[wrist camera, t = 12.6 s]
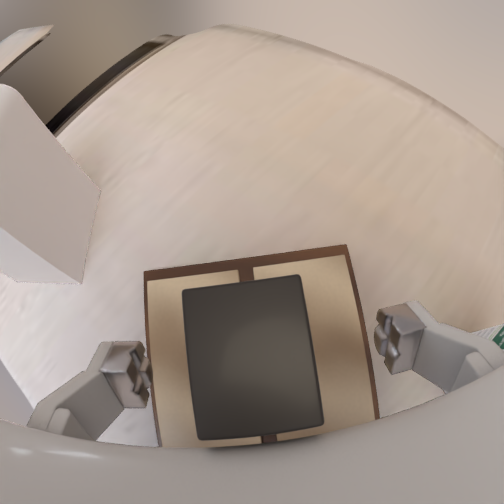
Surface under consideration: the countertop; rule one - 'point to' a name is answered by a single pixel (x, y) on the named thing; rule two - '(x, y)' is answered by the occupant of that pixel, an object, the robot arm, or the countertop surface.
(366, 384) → the brown square slotted block
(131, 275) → the countertop surface
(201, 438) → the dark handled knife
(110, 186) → the countertop surface
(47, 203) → the milk
